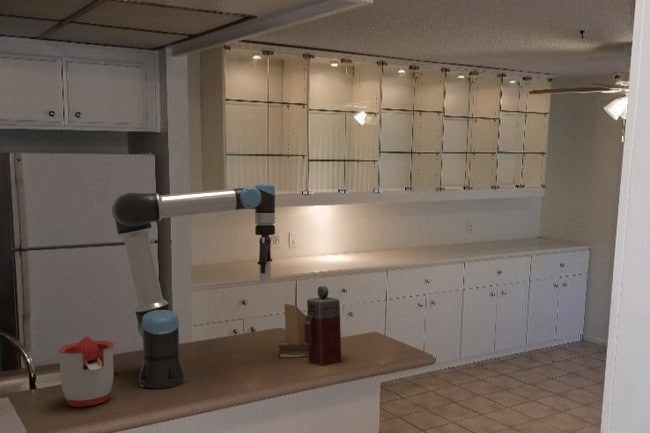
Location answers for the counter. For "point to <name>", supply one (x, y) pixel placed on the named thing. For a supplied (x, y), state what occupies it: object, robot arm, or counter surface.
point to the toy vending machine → (323, 329)
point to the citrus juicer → (86, 372)
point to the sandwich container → (294, 325)
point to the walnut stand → (292, 348)
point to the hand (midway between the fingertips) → (265, 280)
